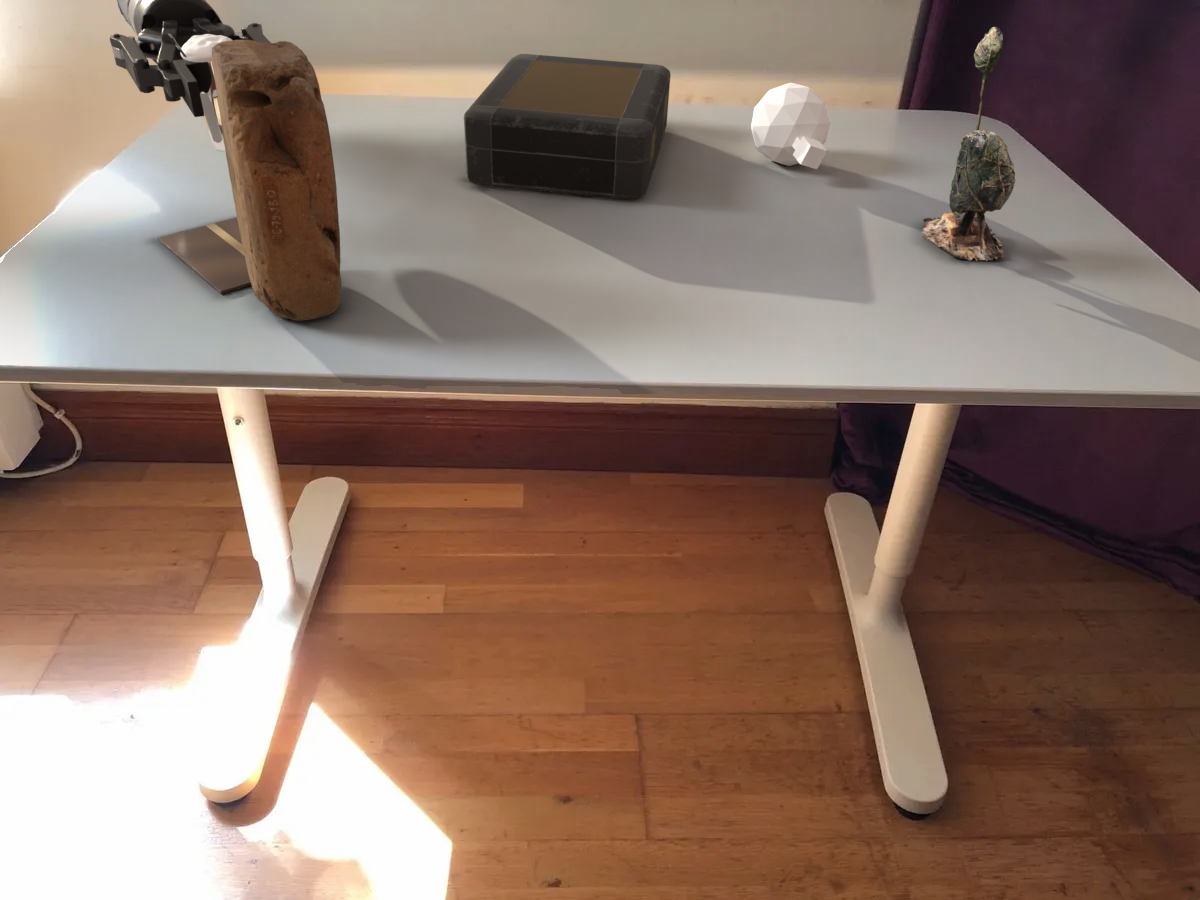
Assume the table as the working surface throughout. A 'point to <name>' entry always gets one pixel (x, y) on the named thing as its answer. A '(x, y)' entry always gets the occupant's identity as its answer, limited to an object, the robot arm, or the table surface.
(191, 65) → the milkshake
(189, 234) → the brown rectangular board
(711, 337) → the table surface
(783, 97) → the perfume bottle
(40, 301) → the table surface
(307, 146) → the block
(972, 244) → the plant with pod
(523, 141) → the cash box
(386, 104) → the table surface
